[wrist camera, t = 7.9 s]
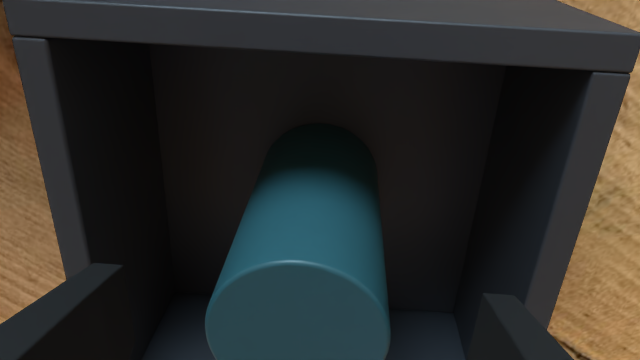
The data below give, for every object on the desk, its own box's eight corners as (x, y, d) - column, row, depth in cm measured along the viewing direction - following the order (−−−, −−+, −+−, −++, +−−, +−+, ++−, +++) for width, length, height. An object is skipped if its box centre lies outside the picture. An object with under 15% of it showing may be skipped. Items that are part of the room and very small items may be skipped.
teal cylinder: (371, 228, 17) (381, 411, 10) (263, 220, 17) (208, 395, 11) (382, 126, 15) (402, 269, 9) (262, 118, 15) (197, 254, 9)
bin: (465, 316, 19) (505, 458, 14) (164, 293, 19) (97, 422, 14) (540, -7, 14) (646, 34, 9) (125, -30, 14) (-1, -4, 9)
